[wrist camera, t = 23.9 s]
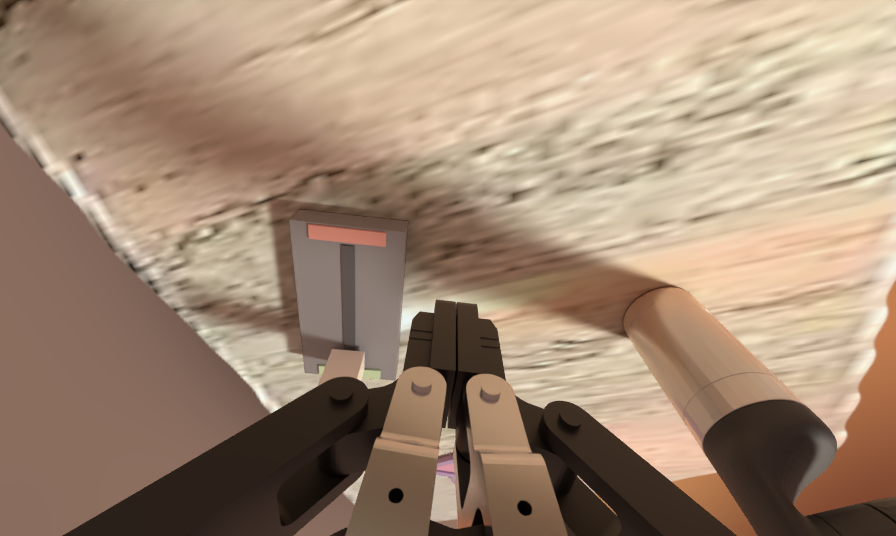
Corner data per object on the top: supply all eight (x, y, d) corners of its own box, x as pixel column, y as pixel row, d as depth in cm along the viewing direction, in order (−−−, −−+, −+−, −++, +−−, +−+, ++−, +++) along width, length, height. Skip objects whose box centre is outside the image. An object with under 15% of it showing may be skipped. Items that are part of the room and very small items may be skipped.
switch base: (408, 221, 41) (405, 233, 38) (397, 364, 52) (394, 382, 49) (299, 209, 40) (287, 220, 37) (311, 356, 51) (303, 374, 48)
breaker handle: (367, 350, 45) (340, 448, 34) (366, 370, 47) (341, 471, 36) (329, 346, 45) (290, 445, 34) (330, 367, 47) (293, 468, 35)
